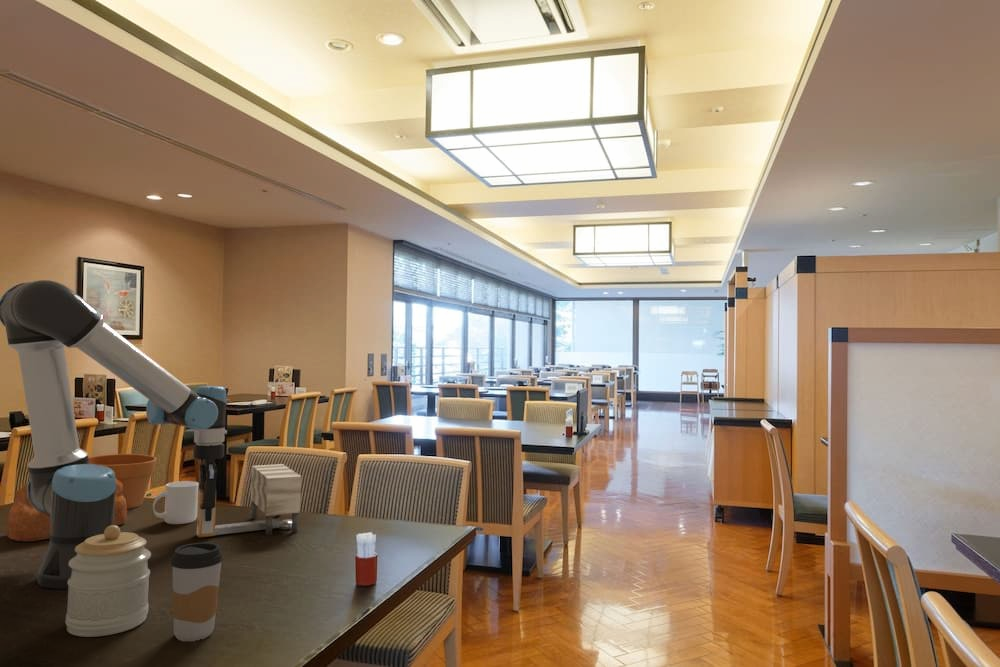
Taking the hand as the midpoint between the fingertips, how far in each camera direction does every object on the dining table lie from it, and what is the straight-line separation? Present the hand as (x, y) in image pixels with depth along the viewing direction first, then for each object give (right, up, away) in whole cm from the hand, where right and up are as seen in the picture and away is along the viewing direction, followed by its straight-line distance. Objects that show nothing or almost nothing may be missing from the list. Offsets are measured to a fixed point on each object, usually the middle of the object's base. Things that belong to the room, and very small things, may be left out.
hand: (205, 530), depth 177 cm
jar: (+8, 0, -57) cm, 58 cm away
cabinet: (+14, -2, +13) cm, 19 cm away
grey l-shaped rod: (+7, -1, +4) cm, 9 cm away
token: (+18, -2, +11) cm, 22 cm away
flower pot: (-41, -1, +30) cm, 51 cm away
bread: (-38, -1, +2) cm, 38 cm away
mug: (-15, -2, +13) cm, 20 cm away
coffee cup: (+25, 0, -61) cm, 66 cm away
